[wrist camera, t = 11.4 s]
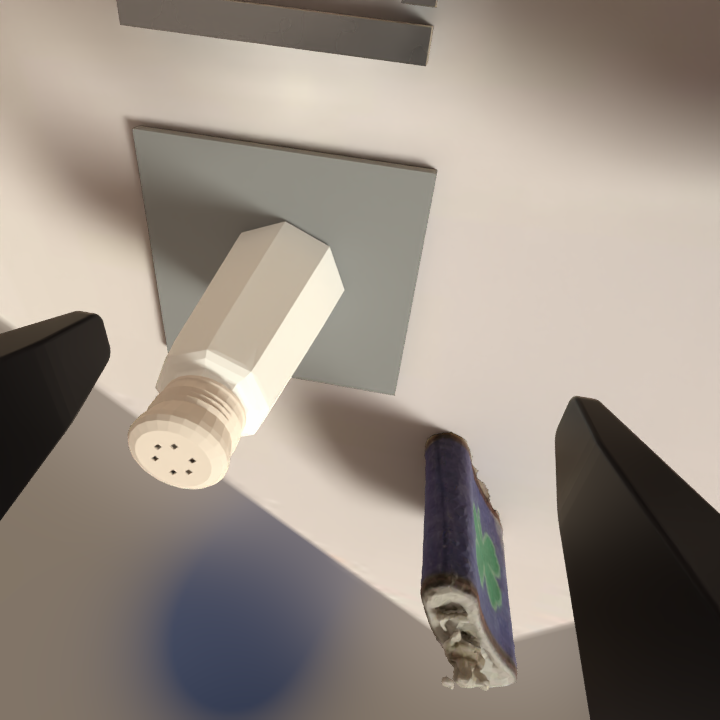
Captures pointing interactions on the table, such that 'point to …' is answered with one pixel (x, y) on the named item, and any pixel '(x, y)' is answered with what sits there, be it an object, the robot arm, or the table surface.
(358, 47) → the holder
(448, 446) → the flask
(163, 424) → the pepper shaker
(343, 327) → the mat
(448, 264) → the table surface
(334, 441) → the table surface
